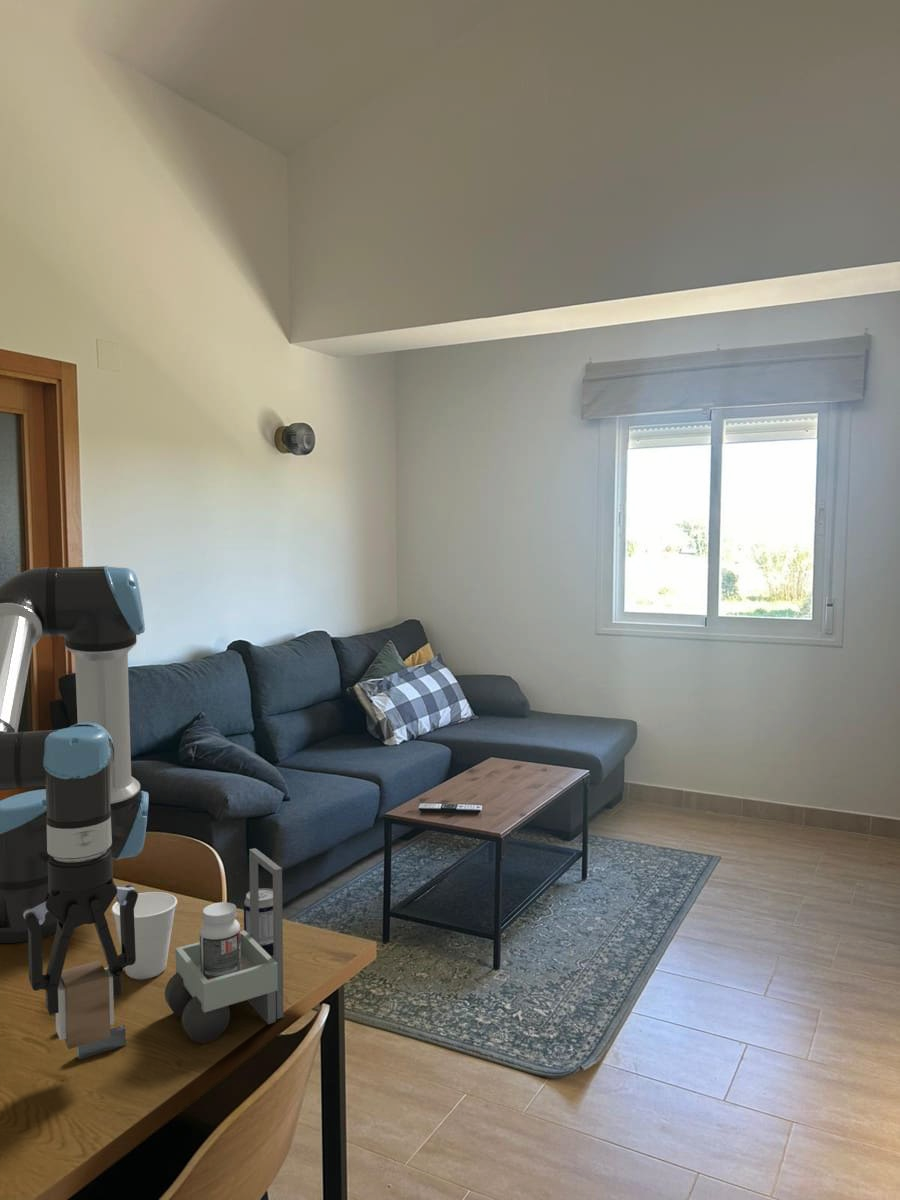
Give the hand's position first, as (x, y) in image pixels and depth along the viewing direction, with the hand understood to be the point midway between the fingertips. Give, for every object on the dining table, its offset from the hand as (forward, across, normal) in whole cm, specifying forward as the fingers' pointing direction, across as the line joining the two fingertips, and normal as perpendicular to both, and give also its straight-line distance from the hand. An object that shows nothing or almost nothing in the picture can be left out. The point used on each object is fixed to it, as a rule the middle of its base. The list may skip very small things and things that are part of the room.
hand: (85, 1026), depth 112 cm
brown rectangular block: (+1, 0, 0) cm, 1 cm away
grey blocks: (+7, +3, +8) cm, 11 cm away
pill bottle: (+1, +19, +4) cm, 20 cm away
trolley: (+7, +20, +3) cm, 21 cm away
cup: (+7, +14, +23) cm, 28 cm away
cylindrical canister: (+7, +30, +14) cm, 34 cm away
